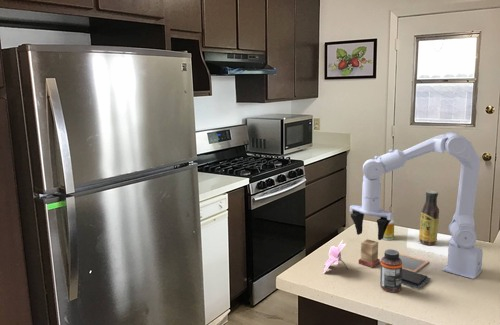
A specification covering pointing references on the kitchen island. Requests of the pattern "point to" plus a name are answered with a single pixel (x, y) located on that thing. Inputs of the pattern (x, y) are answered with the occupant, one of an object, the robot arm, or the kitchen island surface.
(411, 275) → the ink pad
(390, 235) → the supplement bottle
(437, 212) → the tonic bottle
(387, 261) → the supplement bottle
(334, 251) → the lily
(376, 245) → the stamp
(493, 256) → the kitchen island surface
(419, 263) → the mat
